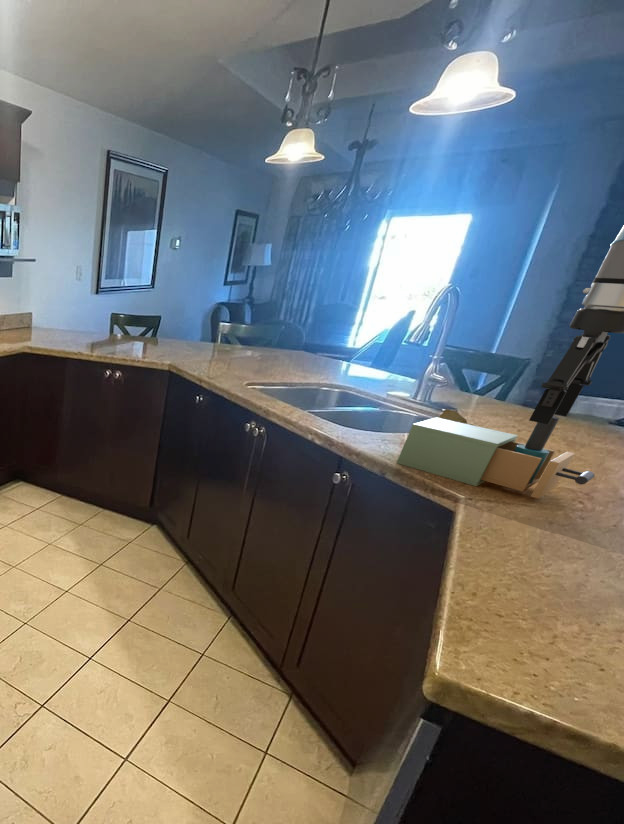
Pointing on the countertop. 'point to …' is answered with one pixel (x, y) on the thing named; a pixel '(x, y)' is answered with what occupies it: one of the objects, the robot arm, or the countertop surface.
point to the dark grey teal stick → (538, 443)
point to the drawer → (530, 470)
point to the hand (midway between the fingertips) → (548, 418)
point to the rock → (453, 416)
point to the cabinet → (452, 449)
